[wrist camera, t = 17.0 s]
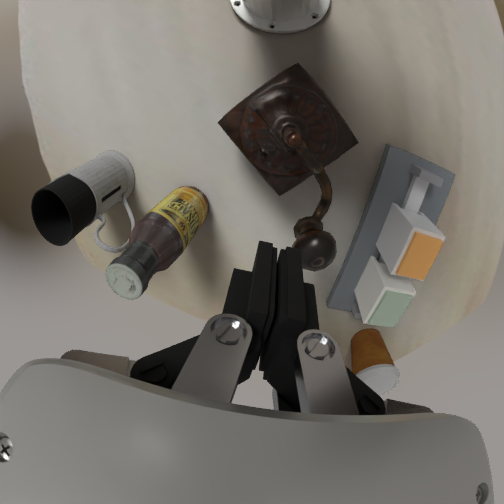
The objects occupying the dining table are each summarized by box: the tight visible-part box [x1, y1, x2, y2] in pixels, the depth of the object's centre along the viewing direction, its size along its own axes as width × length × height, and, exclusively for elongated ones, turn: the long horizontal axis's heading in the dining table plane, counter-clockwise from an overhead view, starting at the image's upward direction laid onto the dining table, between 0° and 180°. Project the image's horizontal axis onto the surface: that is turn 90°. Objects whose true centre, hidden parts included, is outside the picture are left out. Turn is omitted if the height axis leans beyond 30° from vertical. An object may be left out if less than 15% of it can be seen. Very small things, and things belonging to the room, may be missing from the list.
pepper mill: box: [218, 63, 358, 272], centre depth 26 cm, size 16×11×18 cm
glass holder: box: [31, 150, 135, 253], centre depth 32 cm, size 9×14×15 cm, turn 56°
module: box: [376, 203, 446, 281], centre depth 33 cm, size 7×6×8 cm
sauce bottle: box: [106, 186, 208, 300], centre depth 31 cm, size 6×6×20 cm
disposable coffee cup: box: [351, 329, 400, 396], centre depth 46 cm, size 10×10×12 cm
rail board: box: [326, 144, 455, 328], centre depth 35 cm, size 28×12×10 cm, turn 170°
